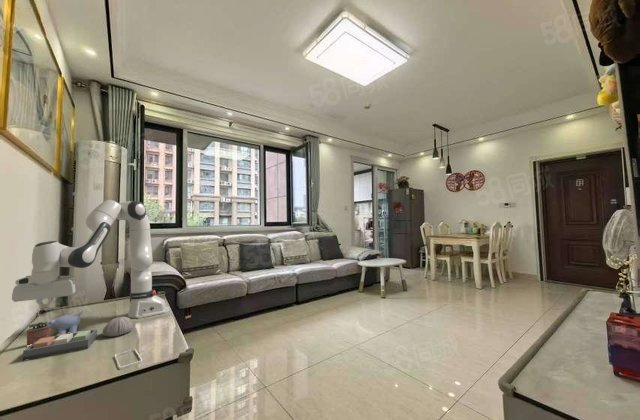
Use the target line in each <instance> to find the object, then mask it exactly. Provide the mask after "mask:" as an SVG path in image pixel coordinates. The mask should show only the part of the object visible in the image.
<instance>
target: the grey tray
mask: <svg viewBox="0 0 640 420" xmlns="http://www.w3.org/2000/svg"><path fill="white" fill-rule="evenodd" d="M78 332H83V331H81V330H80V331H76V332H74V333H73V337H74V336H75V335H76V334H77V333H78ZM61 335H64V334H61ZM54 336H55V339H56V338H58V337H59V336H60V335H57V334H56V335H54ZM97 338H98V328H96V329H91V334H90V335H89V336H88V337H87V339H84V340H79V341H73V338H72V339H71V340H70V341H69V342H67V343H62V344H56V345H54V341H53V342H52V343H51V344H50V345H49V346H44V347H39V348H33V344H34V343H33V344H32V345H31V346H29V347H26V348H25V349H24V350H23V352H22V361H23V360H25V361H27V360H26V359H30V360H34V359H33V358H35V359H39V358H45V357H52V356H56V355H61V354H66V353H71V352H77V351H81V350H87V349H89V348H90V347H91V345H92V344H93V343H94V342H95V341H96V339H97ZM40 339H41V338H40ZM40 339H39V340H40ZM37 341H38V340H37ZM37 341H36V342H37ZM36 342H35V343H36Z"/></svg>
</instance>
